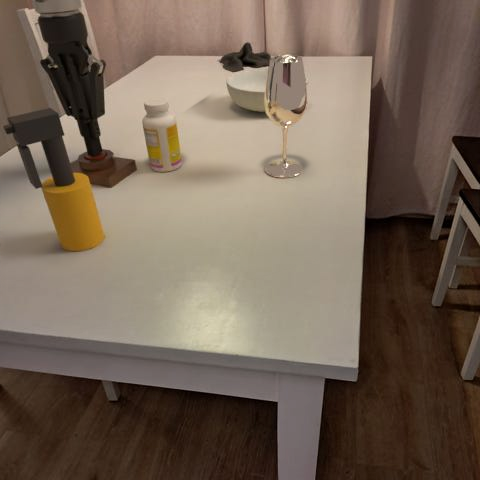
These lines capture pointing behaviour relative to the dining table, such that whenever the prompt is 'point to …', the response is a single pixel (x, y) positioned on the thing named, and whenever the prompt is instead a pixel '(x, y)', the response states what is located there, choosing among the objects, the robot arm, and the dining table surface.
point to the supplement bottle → (161, 136)
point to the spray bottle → (61, 181)
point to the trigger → (29, 166)
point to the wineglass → (285, 104)
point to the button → (97, 157)
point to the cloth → (244, 59)
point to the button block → (104, 169)
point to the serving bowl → (249, 89)
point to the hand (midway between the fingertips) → (95, 153)
